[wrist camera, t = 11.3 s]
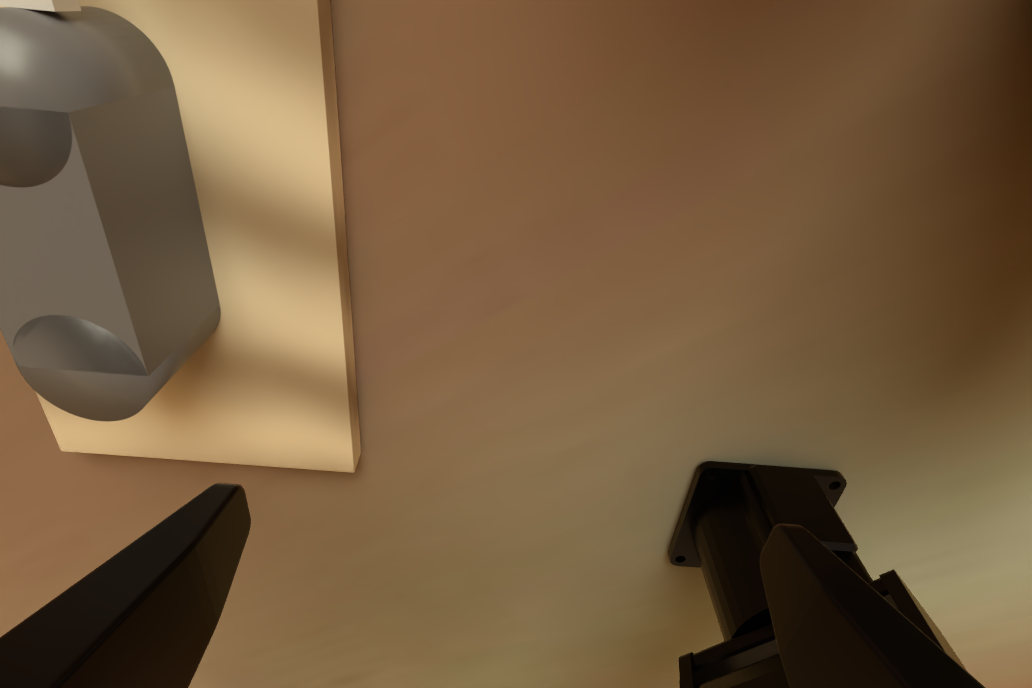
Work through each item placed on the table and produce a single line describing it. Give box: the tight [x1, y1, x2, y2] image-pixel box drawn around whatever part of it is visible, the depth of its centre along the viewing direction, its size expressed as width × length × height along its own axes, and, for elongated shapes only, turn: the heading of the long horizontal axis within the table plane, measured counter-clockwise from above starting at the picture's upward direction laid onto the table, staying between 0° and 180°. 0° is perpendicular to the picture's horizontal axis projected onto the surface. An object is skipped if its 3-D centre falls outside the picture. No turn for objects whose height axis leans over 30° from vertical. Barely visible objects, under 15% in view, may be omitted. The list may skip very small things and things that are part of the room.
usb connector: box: [0, 0, 221, 422], centre depth 15 cm, size 13×4×4 cm, turn 175°
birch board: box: [0, 0, 361, 473], centre depth 18 cm, size 22×12×1 cm, turn 175°
